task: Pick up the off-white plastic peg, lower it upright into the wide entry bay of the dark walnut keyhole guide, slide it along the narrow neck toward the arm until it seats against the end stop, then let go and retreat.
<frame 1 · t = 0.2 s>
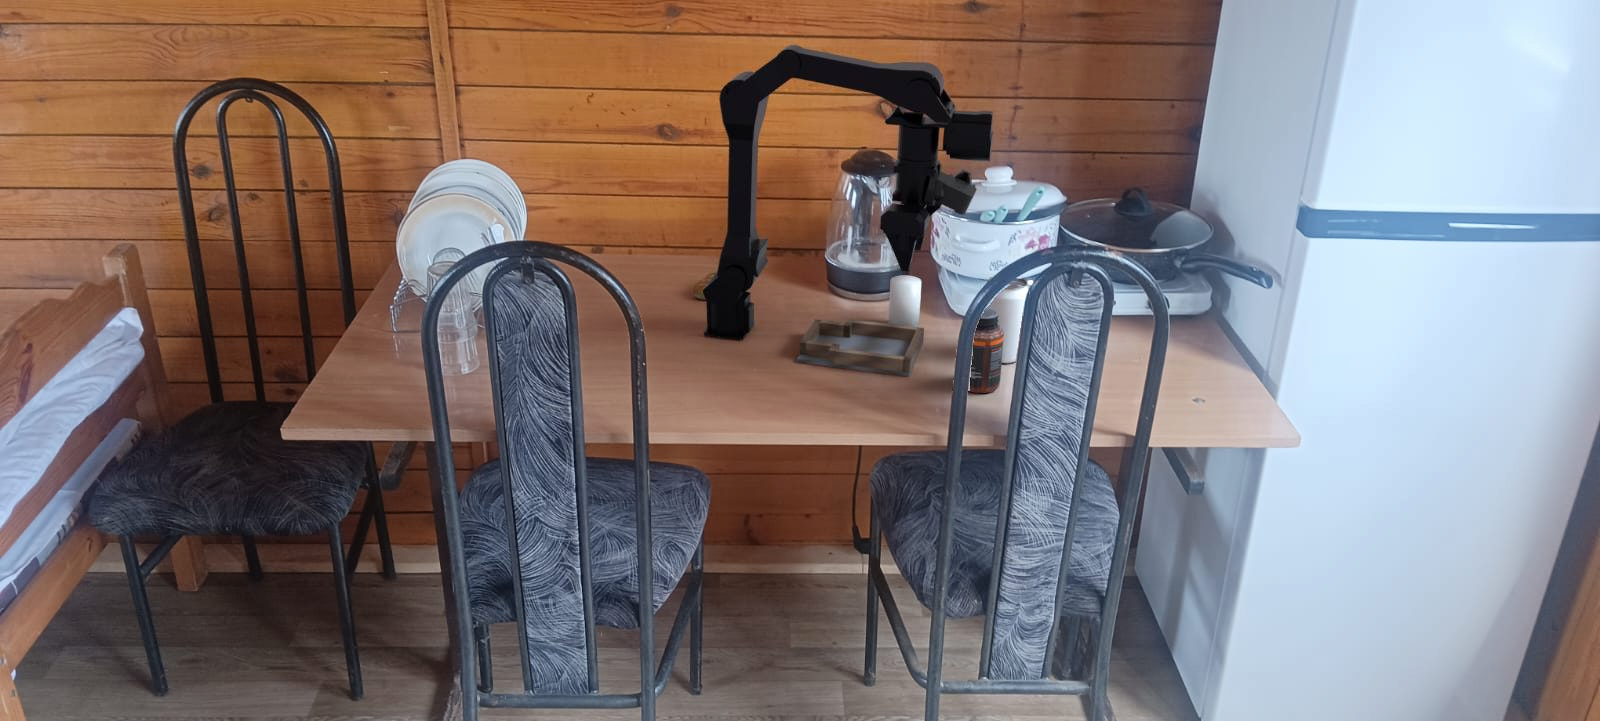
hand: (911, 260, 169), 14 cm above the table, fingers open, 9 cm apart
pastry: (721, 294, 195), on the table
keyhole guide: (831, 349, 174), on the table
supplement bottle: (978, 386, 164), on the table
peg: (903, 328, 182), on the table
can: (1000, 356, 173), on the table
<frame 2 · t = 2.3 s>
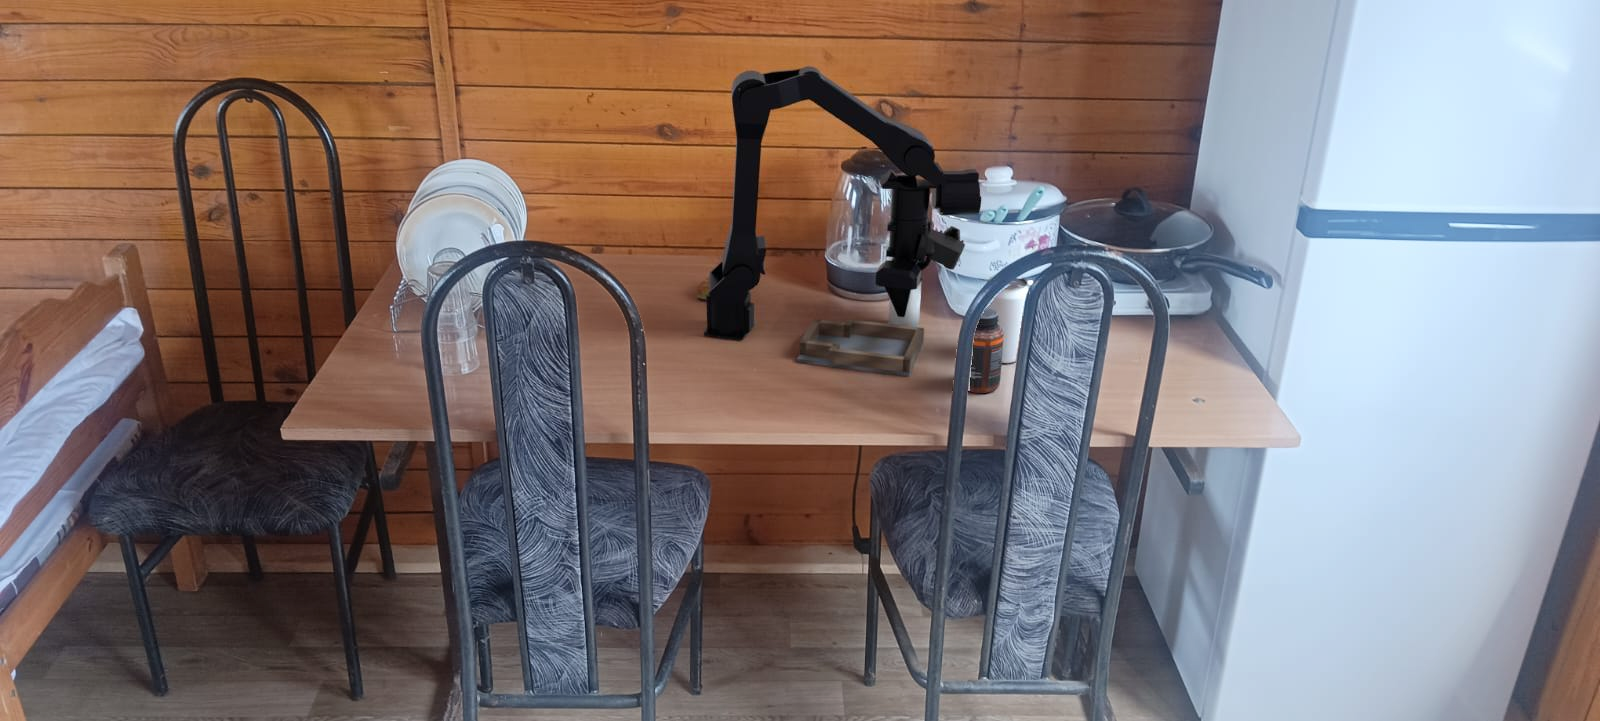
hand: (904, 310, 181), 3 cm above the table, fingers closed on peg, 5 cm apart
peg: (903, 328, 182), on the table, touching gripper
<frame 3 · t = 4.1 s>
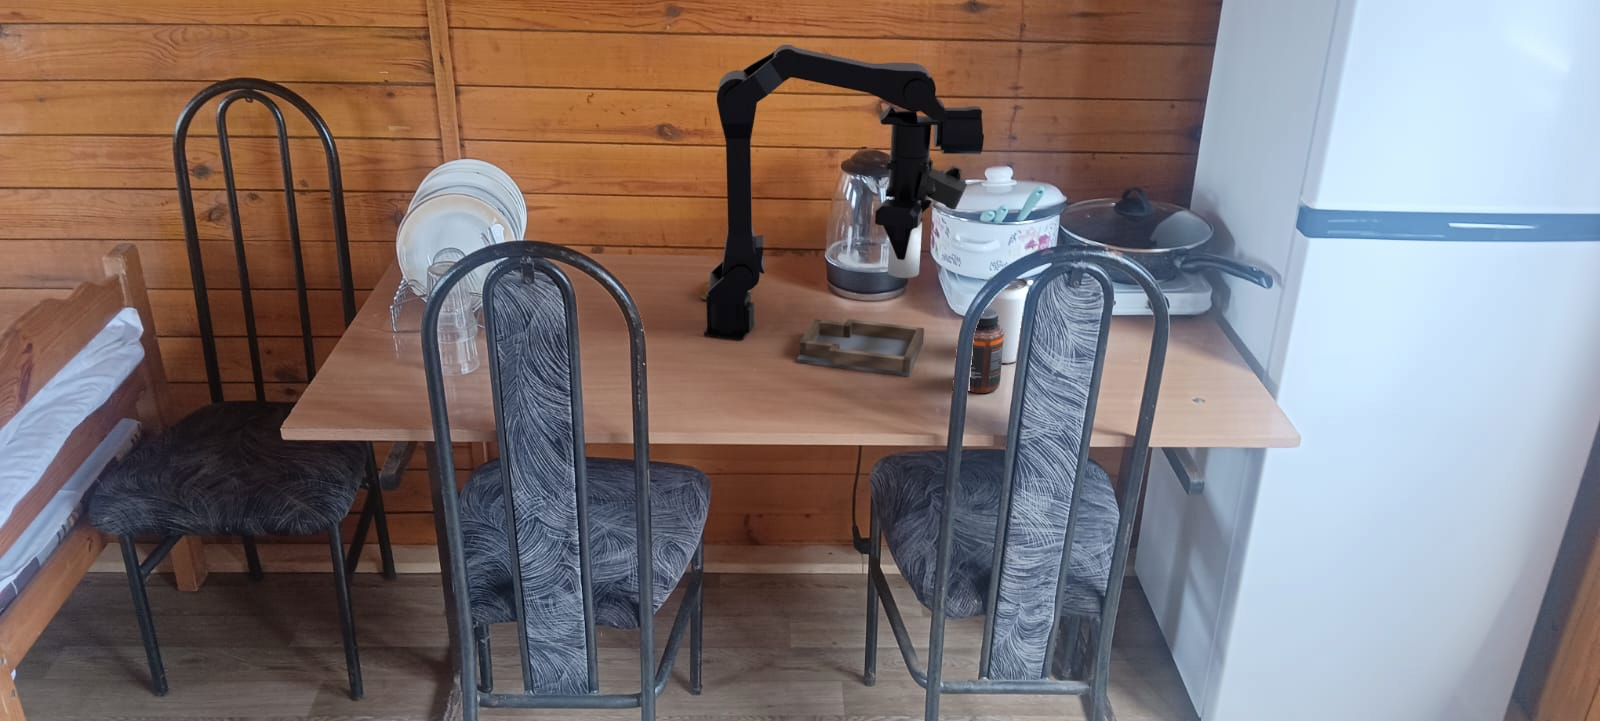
hand: (904, 253, 175), 13 cm above the table, fingers closed on peg, 5 cm apart
peg: (903, 272, 177), point 10 cm above the table, touching gripper
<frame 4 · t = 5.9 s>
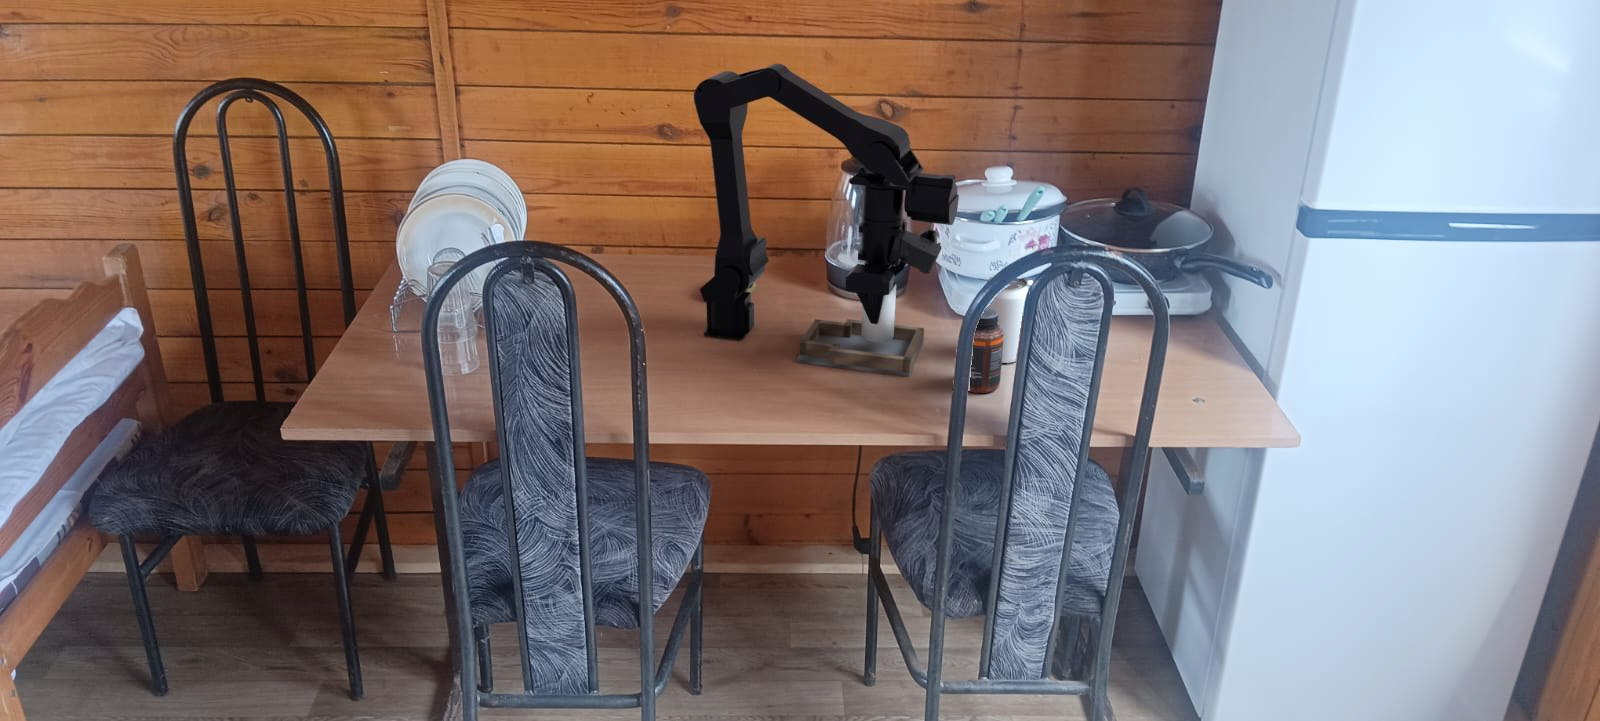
hand: (877, 316, 170), 6 cm above the table, fingers closed on peg, 5 cm apart
peg: (877, 335, 171), point 3 cm above the table, touching gripper
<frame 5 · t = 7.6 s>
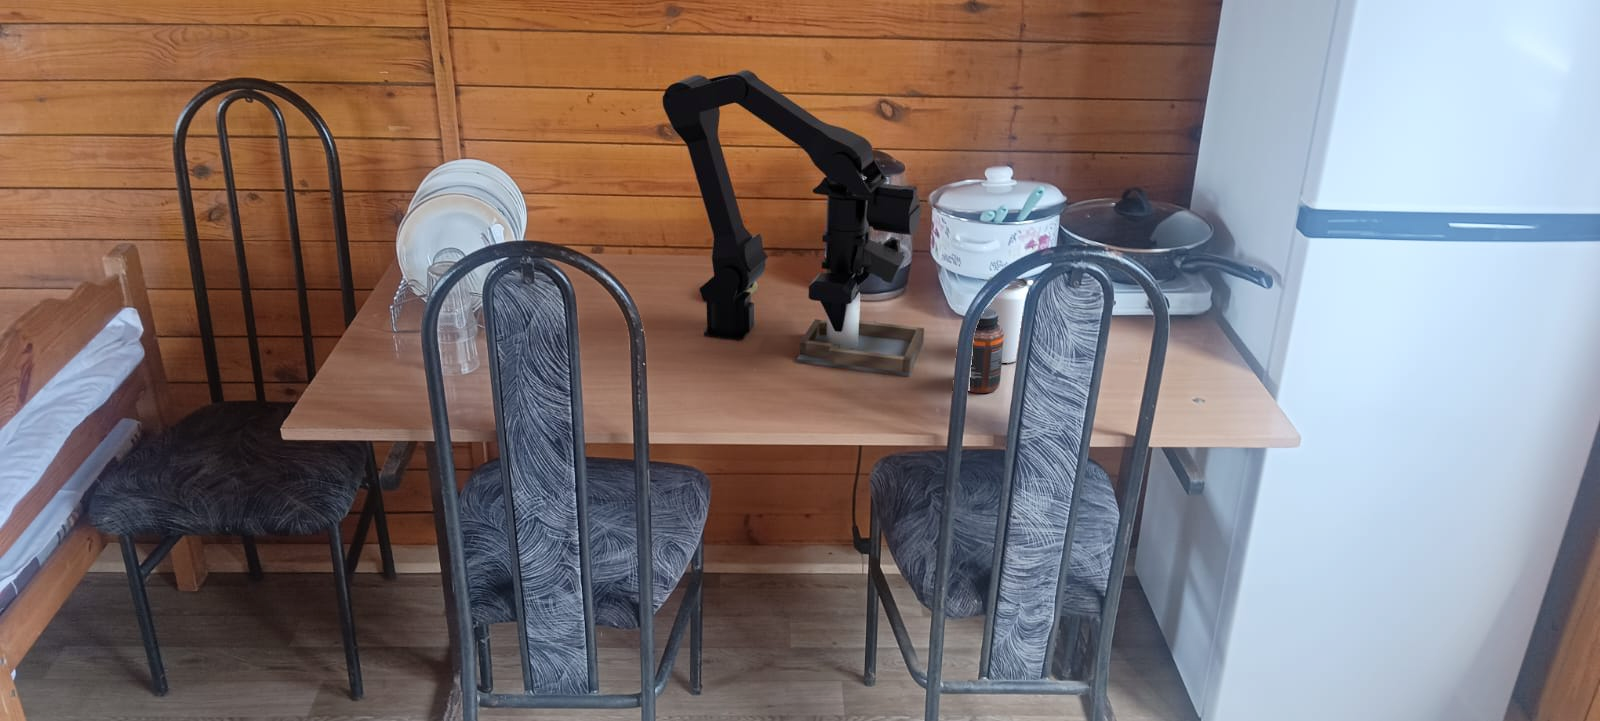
hand: (842, 324, 172), 4 cm above the table, fingers closed on peg, 5 cm apart
peg: (842, 343, 174), point 1 cm above the table, touching gripper
when the fingers open (4 cm above the table, at t = 9.1 s): peg stays where it is, resting on keyhole guide.
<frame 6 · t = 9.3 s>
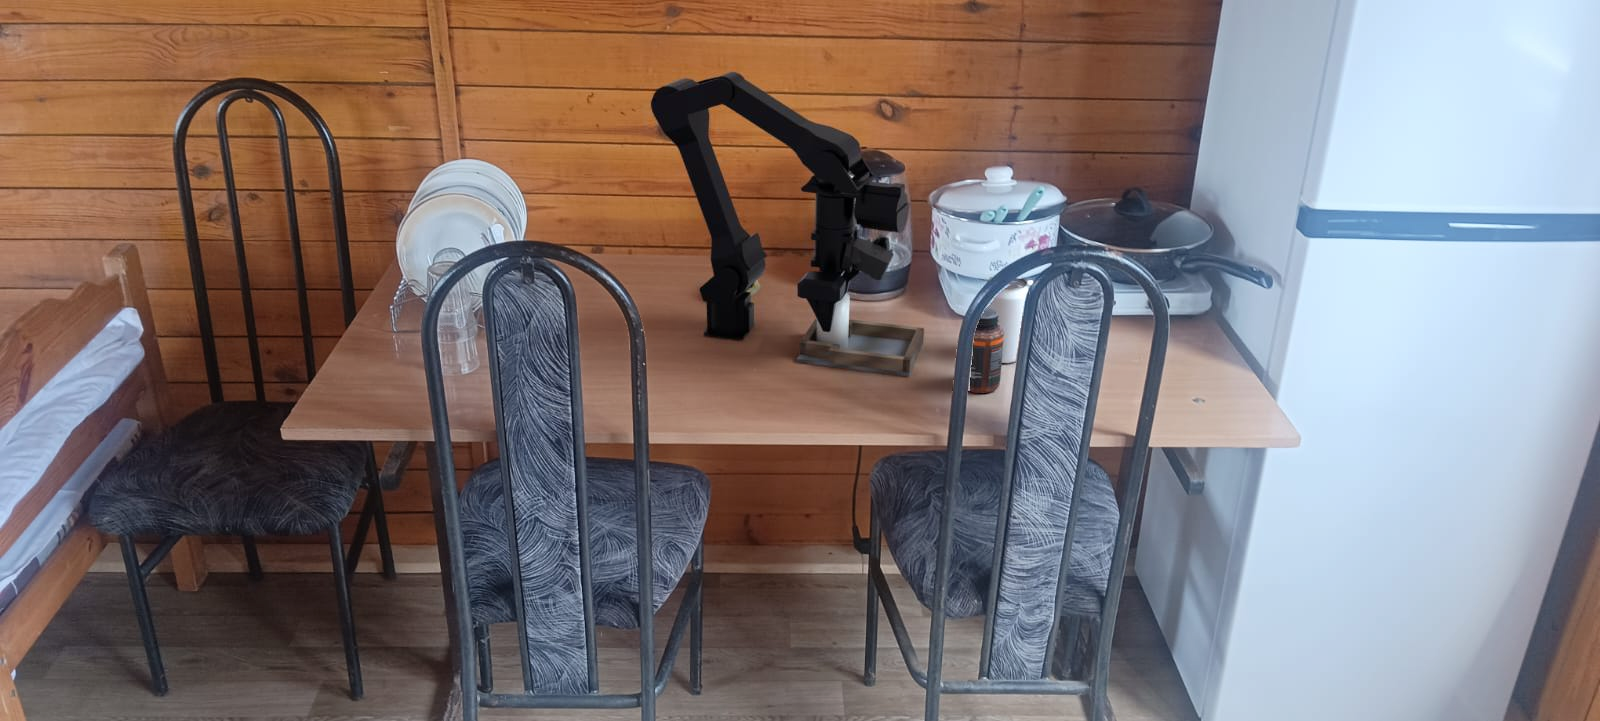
hand: (832, 322, 172), 4 cm above the table, fingers open, 7 cm apart
peg: (832, 345, 174), point 1 cm above the table, touching keyhole guide
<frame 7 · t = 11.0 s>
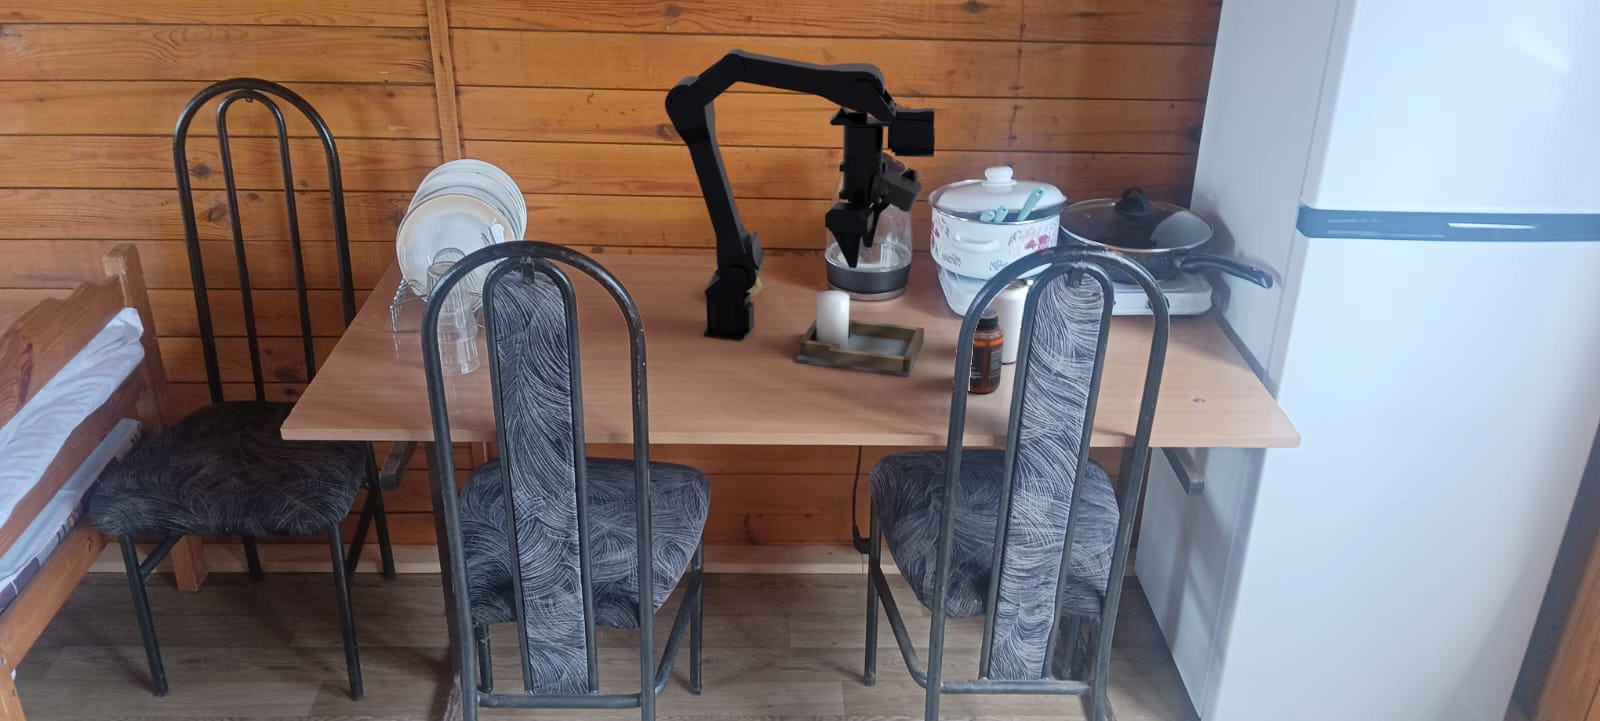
hand: (860, 257, 172), 13 cm above the table, fingers open, 9 cm apart
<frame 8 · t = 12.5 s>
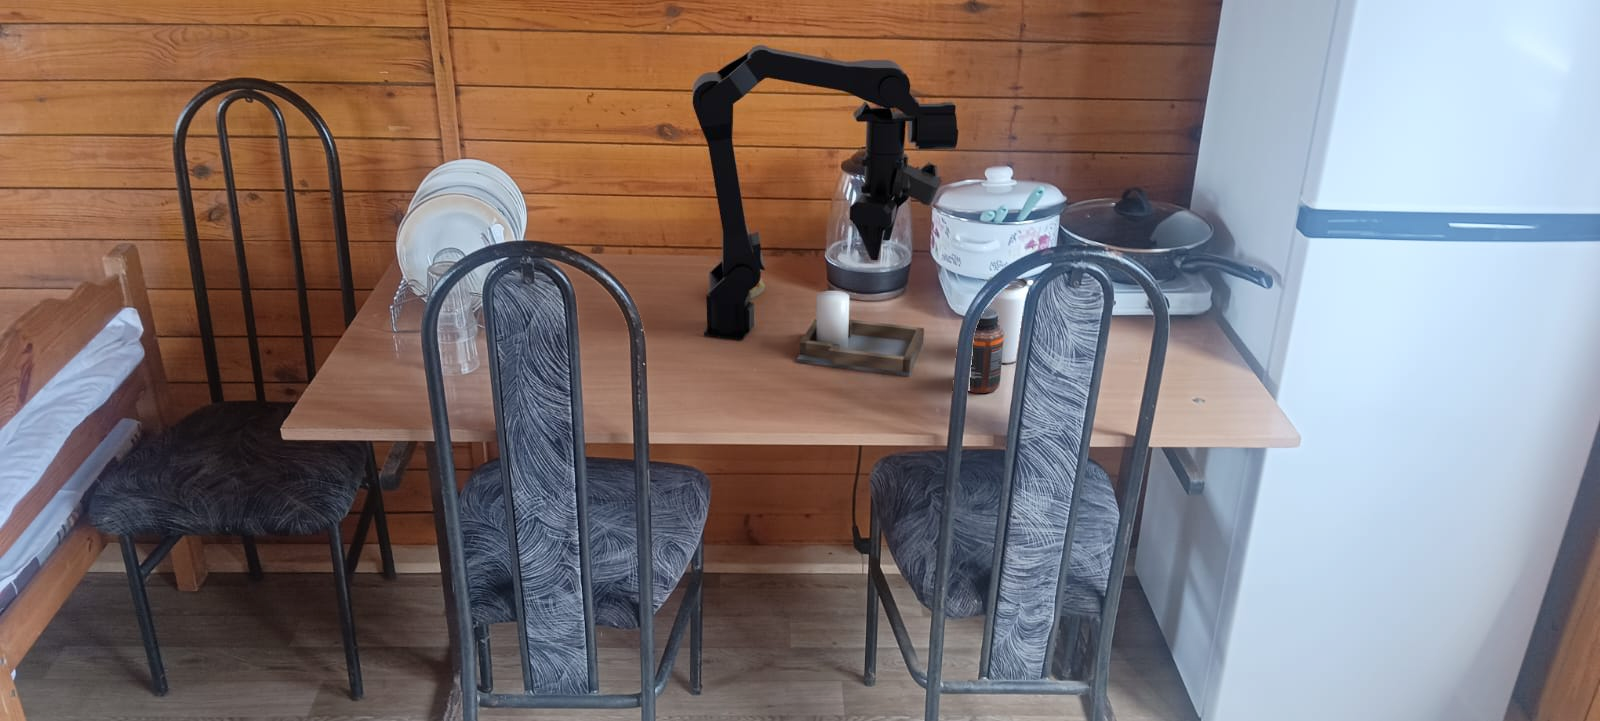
hand: (880, 249, 176), 13 cm above the table, fingers open, 9 cm apart
at the end: peg 0.1 cm off-centre on the keyhole guide, point 0.6 cm above the keyhole guide's base; peg tilted 0°; the gripper is holding nothing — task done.
